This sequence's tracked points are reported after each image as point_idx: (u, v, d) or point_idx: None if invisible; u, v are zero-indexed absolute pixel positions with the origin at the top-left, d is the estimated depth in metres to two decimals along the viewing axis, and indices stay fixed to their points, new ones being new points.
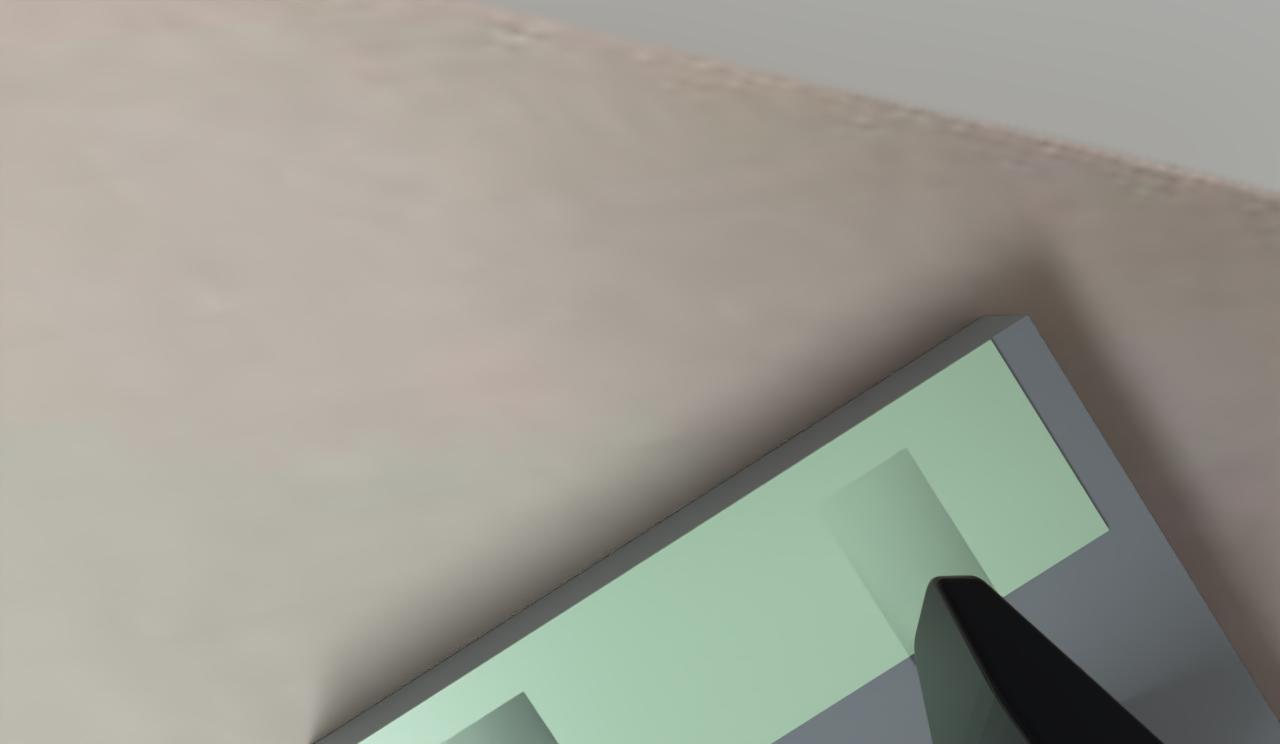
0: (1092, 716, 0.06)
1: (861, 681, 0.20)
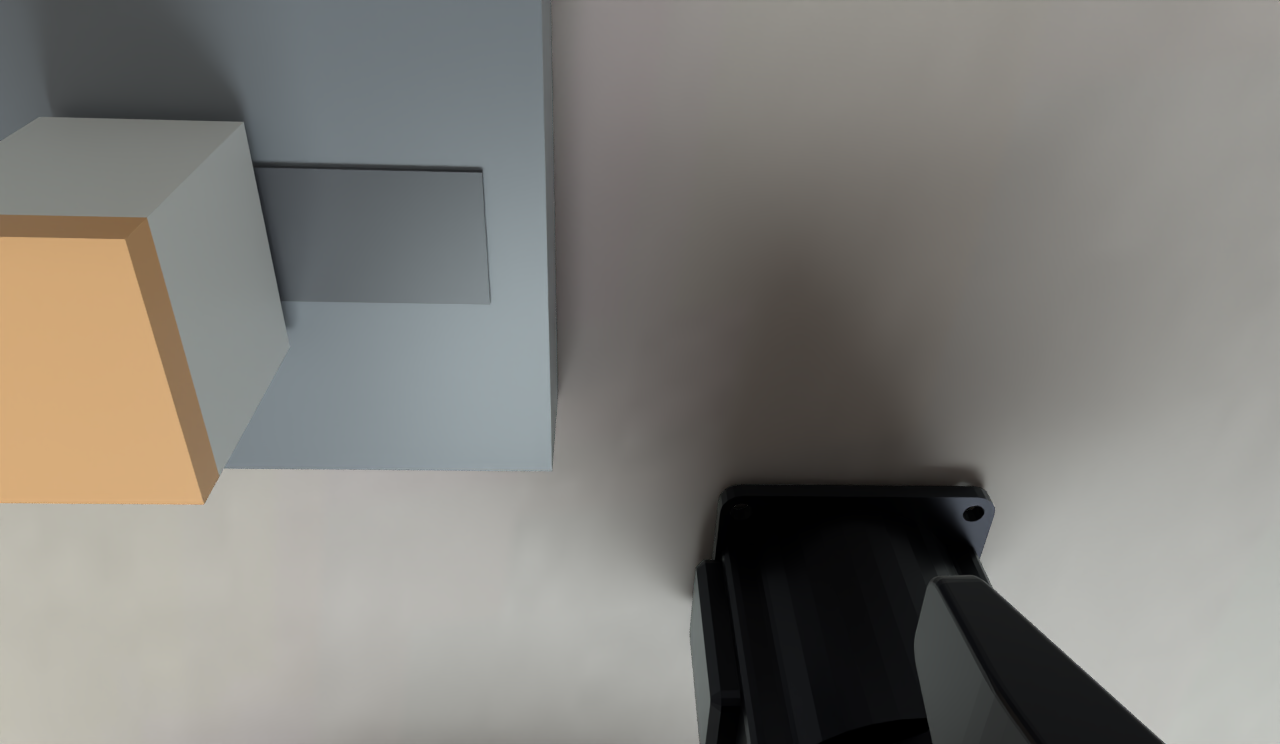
0: (1092, 715, 0.06)
1: None
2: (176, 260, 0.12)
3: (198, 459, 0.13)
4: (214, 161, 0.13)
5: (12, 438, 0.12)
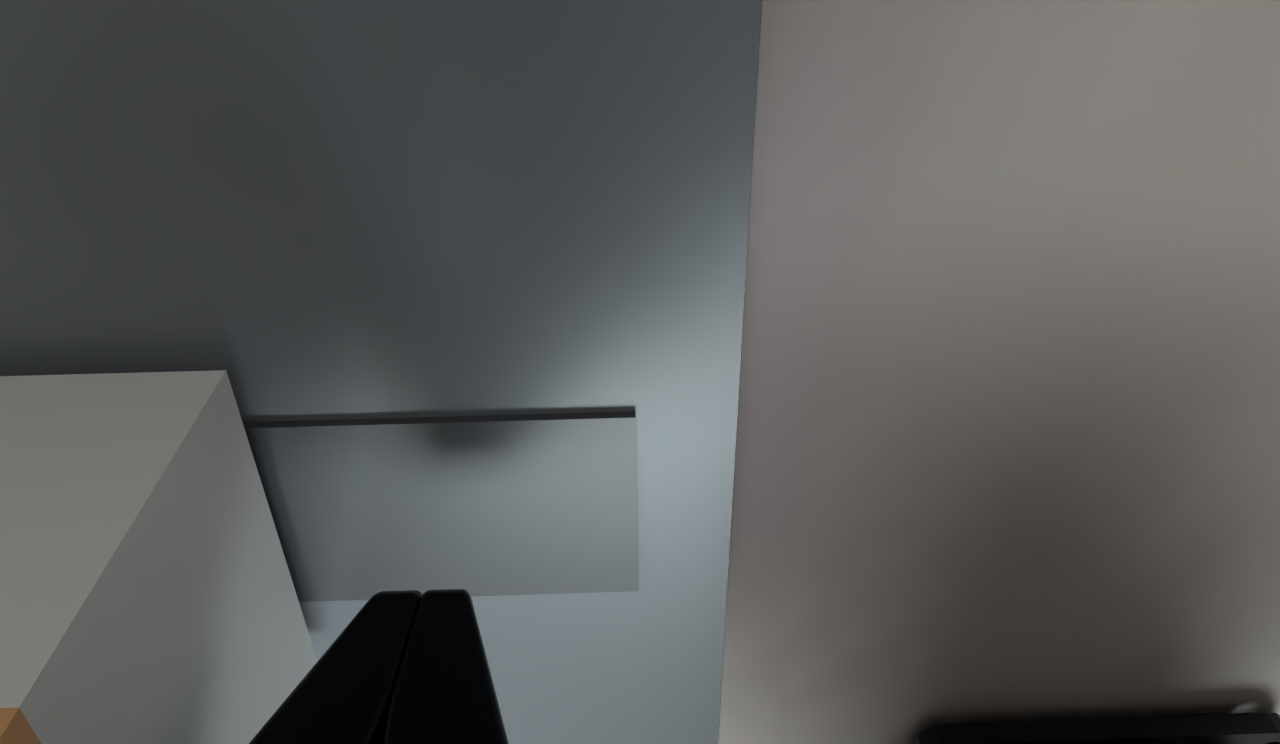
0: (459, 736, 0.06)
1: None
2: (98, 727, 0.06)
3: None
4: (173, 478, 0.07)
5: None
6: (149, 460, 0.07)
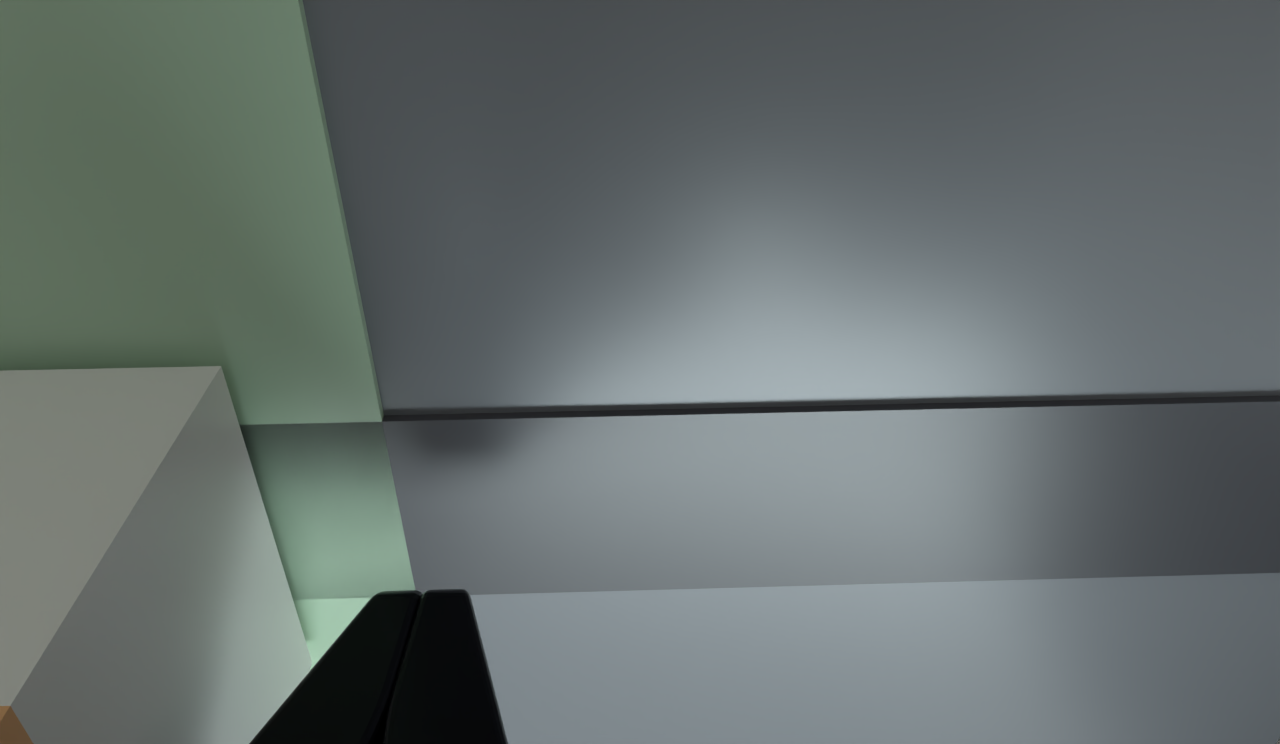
0: (458, 736, 0.06)
1: None
2: (91, 725, 0.06)
3: None
4: (166, 474, 0.07)
5: None
6: (143, 456, 0.07)
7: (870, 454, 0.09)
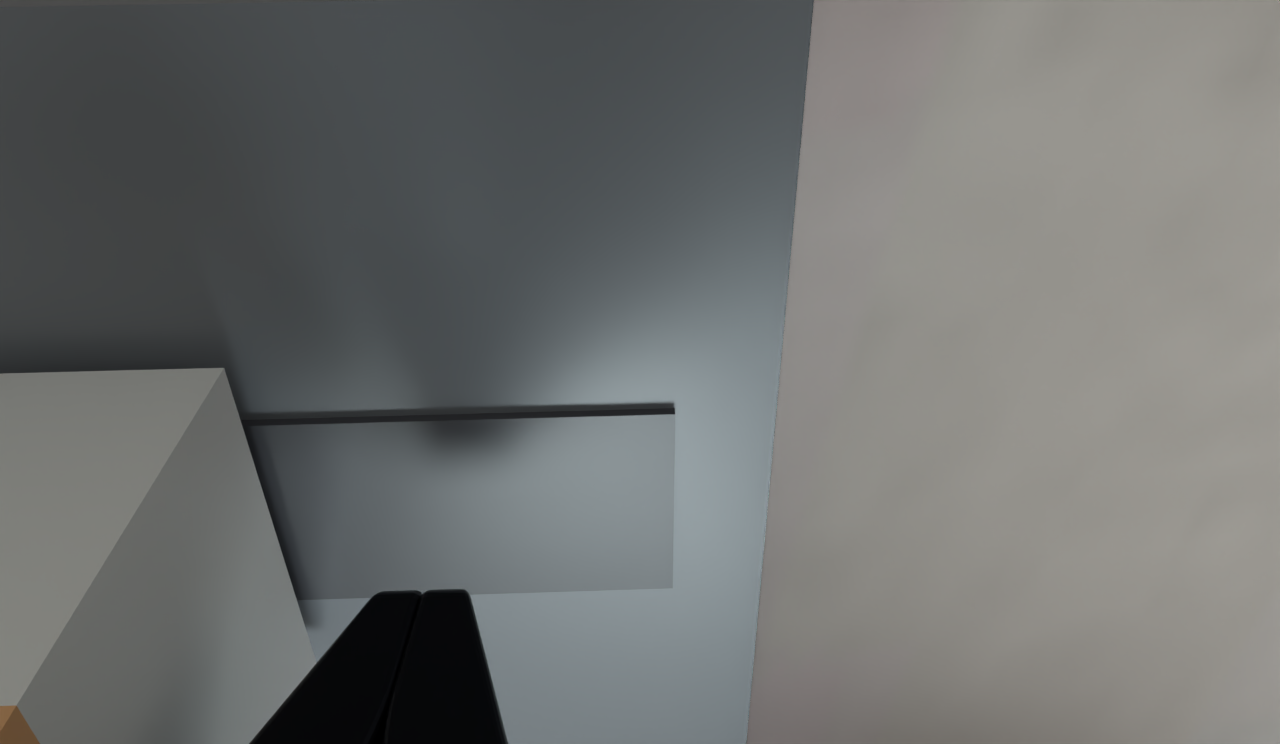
0: (459, 736, 0.06)
1: None
2: None
3: None
4: None
5: None
6: None
7: None
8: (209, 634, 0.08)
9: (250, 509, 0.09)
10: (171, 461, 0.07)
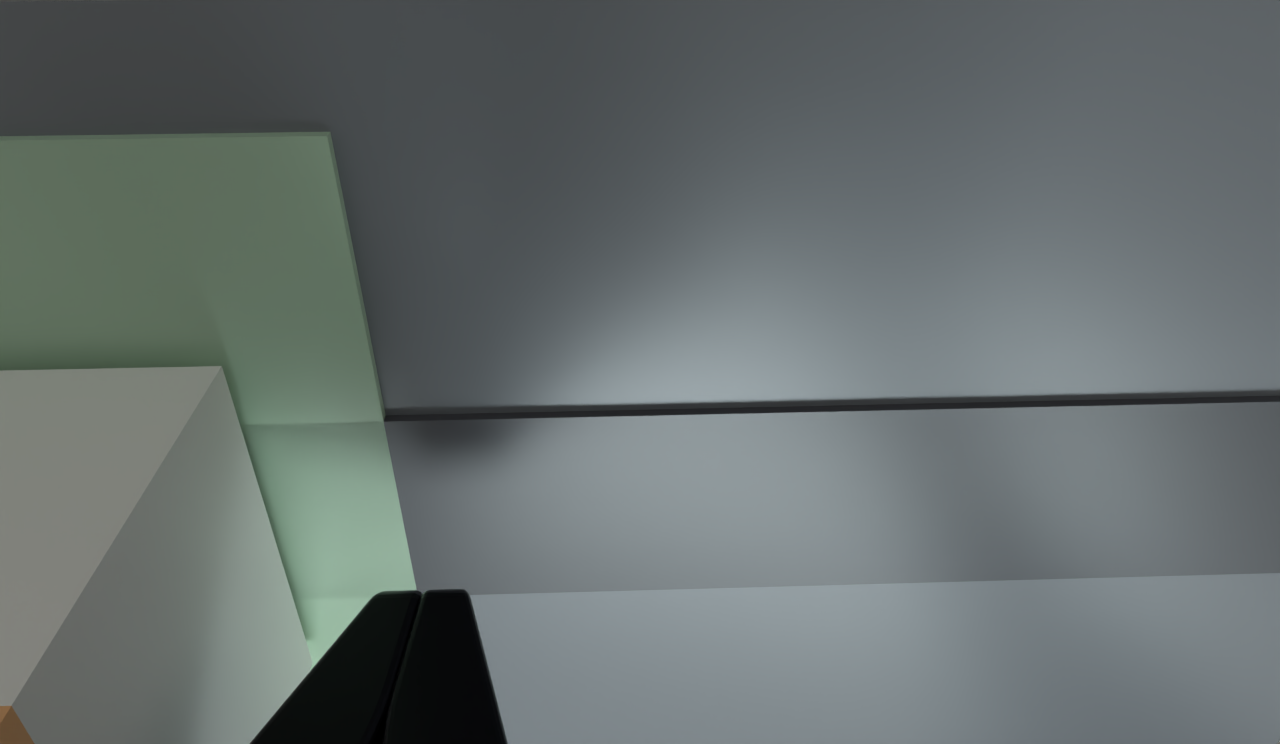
0: (458, 735, 0.06)
1: None
2: None
3: None
4: None
5: None
6: None
7: None
8: (206, 634, 0.08)
9: (247, 508, 0.09)
10: (169, 459, 0.07)
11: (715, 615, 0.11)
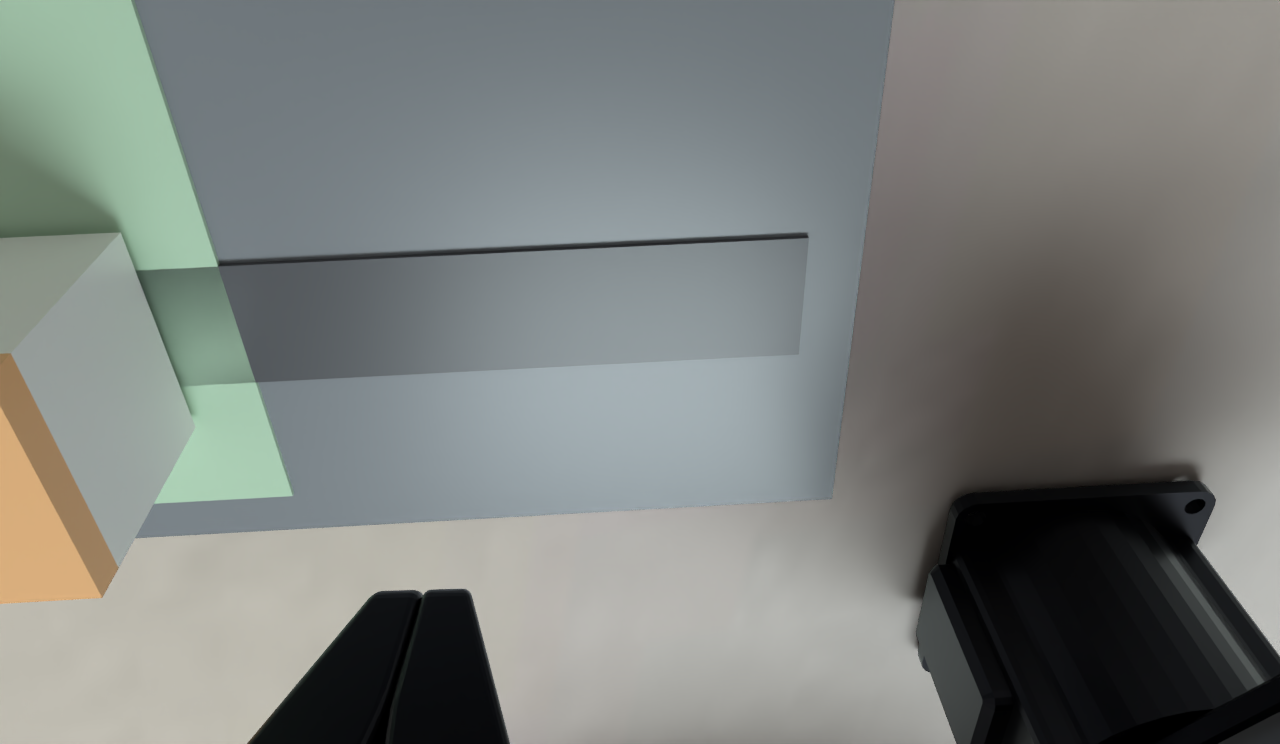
0: (460, 736, 0.06)
1: None
2: (50, 383, 0.13)
3: (92, 558, 0.14)
4: (87, 279, 0.14)
5: None
6: (75, 270, 0.14)
7: (505, 280, 0.16)
8: None
9: None
10: None
11: None
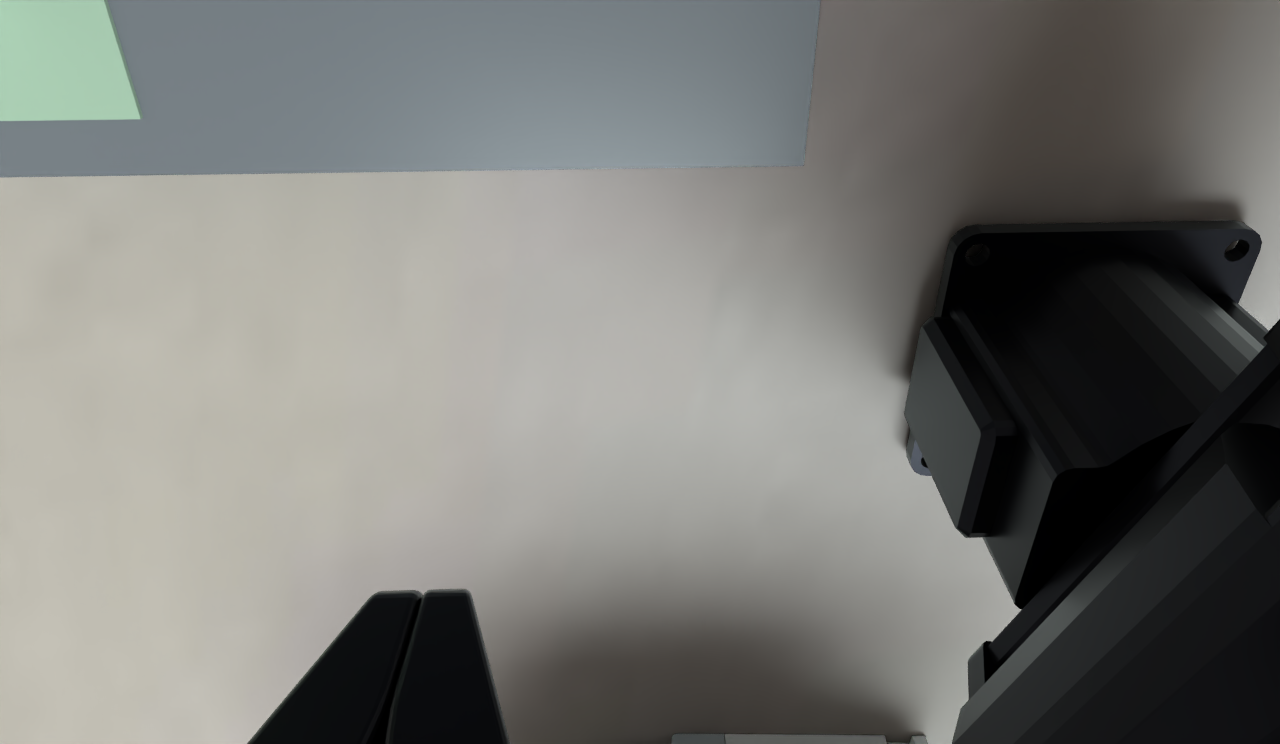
0: (460, 736, 0.06)
1: None
2: None
3: None
4: None
5: None
6: None
7: None
8: None
9: None
10: None
11: None
